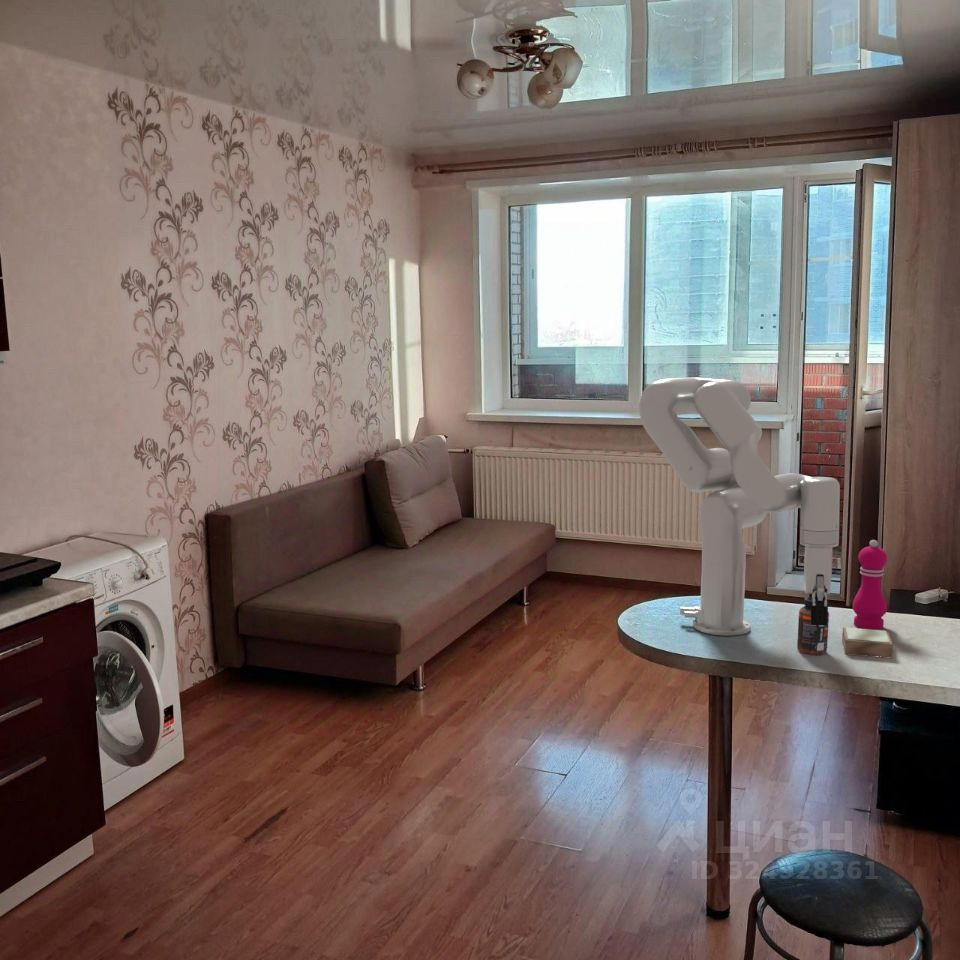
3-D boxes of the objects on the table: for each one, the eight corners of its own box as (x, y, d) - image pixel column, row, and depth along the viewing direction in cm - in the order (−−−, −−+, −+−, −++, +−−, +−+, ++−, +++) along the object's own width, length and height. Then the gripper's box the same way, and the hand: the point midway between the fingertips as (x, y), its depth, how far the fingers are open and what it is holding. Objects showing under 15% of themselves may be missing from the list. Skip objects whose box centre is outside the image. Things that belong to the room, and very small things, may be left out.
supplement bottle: (829, 656, 199) (832, 603, 197) (799, 655, 200) (801, 602, 198) (824, 647, 205) (827, 595, 203) (795, 645, 206) (797, 594, 204)
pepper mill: (888, 631, 215) (894, 544, 212) (854, 629, 217) (859, 542, 213) (882, 622, 222) (887, 537, 219) (848, 620, 224) (853, 535, 220)
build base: (845, 654, 200) (845, 639, 200) (841, 640, 209) (842, 626, 208) (891, 658, 198) (892, 643, 197) (886, 644, 206) (887, 630, 206)
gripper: (799, 529, 208) (797, 607, 210) (801, 544, 191) (800, 629, 193) (836, 530, 205) (834, 608, 207) (841, 546, 189) (840, 631, 191)
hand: (818, 618), depth 200 cm, fingers open, 9 cm apart
